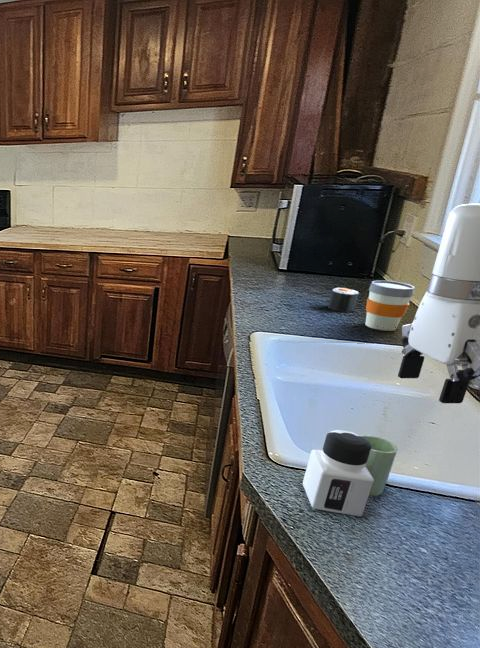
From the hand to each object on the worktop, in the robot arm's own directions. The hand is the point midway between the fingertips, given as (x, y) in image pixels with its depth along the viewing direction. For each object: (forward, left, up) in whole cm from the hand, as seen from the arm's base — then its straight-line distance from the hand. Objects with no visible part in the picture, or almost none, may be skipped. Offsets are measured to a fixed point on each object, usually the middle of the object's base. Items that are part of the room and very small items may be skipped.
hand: (427, 389), depth 87 cm
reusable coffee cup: (-60, -99, -21) cm, 118 cm away
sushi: (-58, -120, -21) cm, 135 cm away
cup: (+3, -3, -21) cm, 22 cm away
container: (+12, +2, -21) cm, 24 cm away
